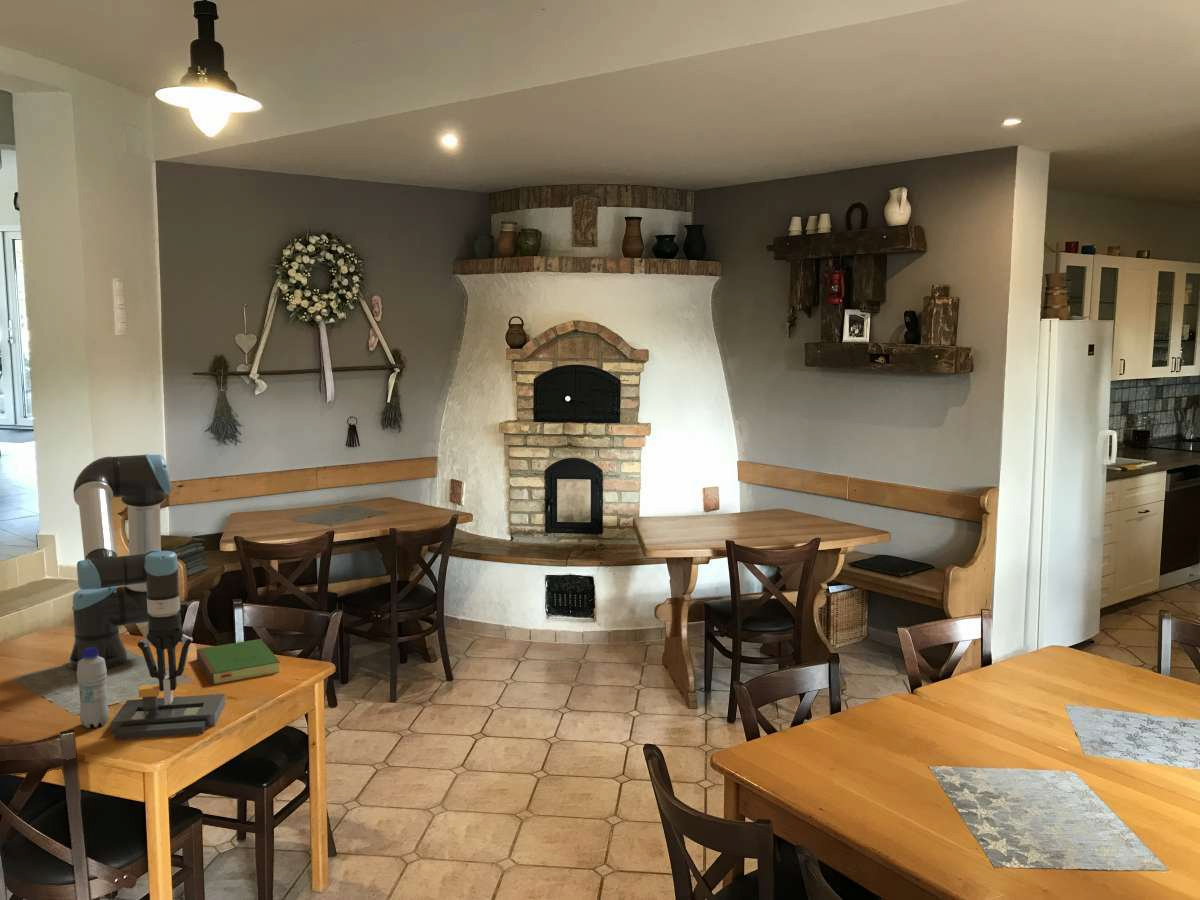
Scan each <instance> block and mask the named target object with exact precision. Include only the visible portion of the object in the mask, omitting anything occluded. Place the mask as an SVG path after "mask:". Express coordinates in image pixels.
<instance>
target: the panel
mask: <svg viewBox="0 0 1200 900" xmlns="http://www.w3.org/2000/svg"><path fill="white" fill-rule="evenodd" d="M157 699H158V710H152V711H143V698H141V699H126V701H125V702H124V704H123V705H122V706H121V708H119V710H118V712H117V713H116V714H115V716H114V717H113V718H112V720H111V721H110V726H111V727H110V728H111V729H110V730H111V734H115V732H116V731H117V729H118V728H119V727H123V726H137V725H151V724H165V723H179V722H192V721H206V727H215V726H216V724H217V723H218V720H219V718H220V716H221V715H222V712H223V710H224V708H225V706H226V693H217V694H215V693H214V694H201V695H187V696H173V701H172V703H171V704H166V705H164V697H157Z"/></svg>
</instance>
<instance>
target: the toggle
mask: <svg viewBox="0 0 1200 900" xmlns="http://www.w3.org/2000/svg"><path fill="white" fill-rule="evenodd" d="M161 692H162V691H160V690H159V683H158V684H146V685H145V684H144V685H141V686H140V687H139V688H138V698H141V699H143V711H152V710H158V699H157V698H158V696H159V695H160V693H161Z"/></svg>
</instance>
